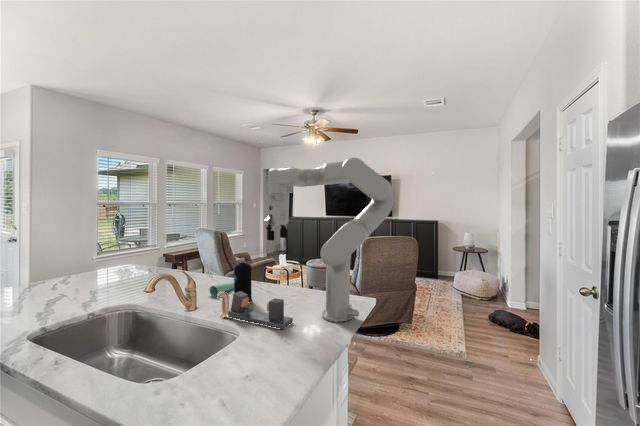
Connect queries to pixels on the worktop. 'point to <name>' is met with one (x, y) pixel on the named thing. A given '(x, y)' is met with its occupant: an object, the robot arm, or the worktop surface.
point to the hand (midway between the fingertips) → (277, 238)
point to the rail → (265, 315)
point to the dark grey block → (239, 301)
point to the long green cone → (220, 288)
